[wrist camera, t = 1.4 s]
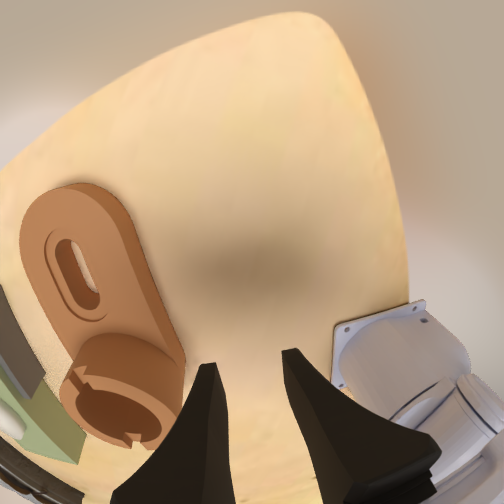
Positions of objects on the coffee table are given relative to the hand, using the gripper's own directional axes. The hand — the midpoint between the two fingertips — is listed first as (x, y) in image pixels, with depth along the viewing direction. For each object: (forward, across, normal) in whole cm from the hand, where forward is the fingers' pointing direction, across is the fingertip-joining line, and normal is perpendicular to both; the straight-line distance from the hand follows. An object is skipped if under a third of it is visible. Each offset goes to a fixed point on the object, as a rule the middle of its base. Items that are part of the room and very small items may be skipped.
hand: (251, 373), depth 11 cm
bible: (+9, +57, +41) cm, 71 cm away
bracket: (+9, +10, 0) cm, 13 cm away
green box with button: (+8, +27, +7) cm, 29 cm away
